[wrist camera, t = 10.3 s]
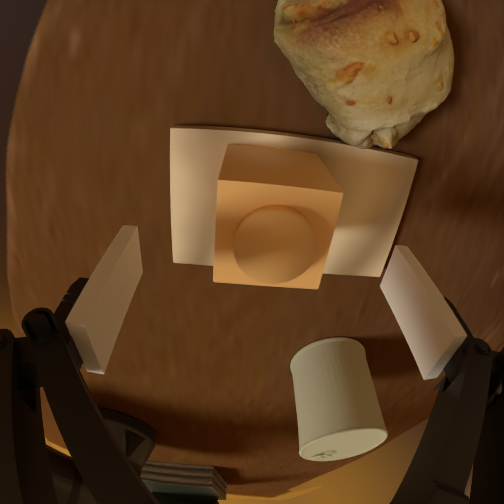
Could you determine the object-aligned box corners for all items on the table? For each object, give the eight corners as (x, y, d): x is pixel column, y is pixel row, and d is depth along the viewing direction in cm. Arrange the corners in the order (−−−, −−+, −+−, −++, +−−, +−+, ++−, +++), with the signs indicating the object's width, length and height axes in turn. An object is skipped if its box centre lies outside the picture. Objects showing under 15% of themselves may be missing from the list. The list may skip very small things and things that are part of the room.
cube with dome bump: (222, 222, 23) (211, 293, 16) (227, 143, 20) (215, 187, 13) (301, 229, 23) (320, 300, 17) (316, 153, 20) (349, 201, 14)
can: (274, 363, 35) (279, 457, 25) (338, 324, 31) (364, 426, 21) (319, 388, 38) (331, 468, 28) (377, 356, 35) (402, 440, 25)
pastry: (302, -60, 12) (327, -110, 5) (451, 15, 14) (519, 13, 8) (241, 104, 20) (236, 123, 13) (395, 161, 22) (448, 206, 15)
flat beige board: (176, 254, 26) (160, 303, 21) (174, 124, 20) (148, 146, 15) (375, 268, 27) (398, 315, 22) (411, 155, 21) (453, 185, 16)
